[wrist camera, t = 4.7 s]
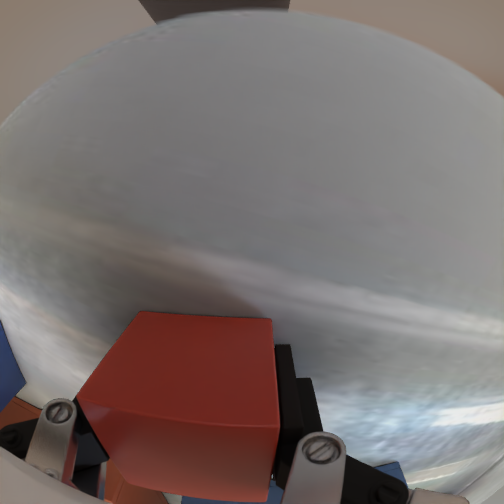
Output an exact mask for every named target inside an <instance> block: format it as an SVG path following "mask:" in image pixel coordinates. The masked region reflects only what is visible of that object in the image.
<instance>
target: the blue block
mask: <svg viewBox="0 0 504 504" xmlns="http://www.w3.org/2000/svg"><path fill="white" fill-rule="evenodd" d="M25 384H26V382H25V380H24V378H23V376H22V374H21V371H20V369H19V367H18V365H17V363H16V360H15V358H14V356H13V353H12V351H11V349H10V346H9V344H8V341H7V338H6V336H5V333H4V330H3V327H2V324H1V322H0V413H1V411H2V410H3V409H4V408H5V407H6V406H7V404H8V403H9V402H10V401H11V400H12V399H13V397H14V396H15V395H16V394H17V393H18V392H19V391H20V389H21V388H22V387H23V386H24V385H25Z"/></svg>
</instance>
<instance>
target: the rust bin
mask: <svg viewBox="0 0 504 504" xmlns="http://www.w3.org/2000/svg"><path fill="white" fill-rule="evenodd" d="M41 412H42V410H40V409H38V408H36V407H34V406H32V405H30V404H28V403H26V402H24V401H22V400H20V399H18V398H16V397H15V396H14V397H13V399H12V400H11V401H10V402H9V403H8V404H7V406H6V407H5V408H4V409H3V410H2V411H1V413H0V430H1V429H2V428H3V427H4V426H6V425H9V424H14V423H18V422H23V421H27V420H31V419H35V418H39V417H40V414H41ZM104 501H106V502H108V503H111V504H168V502H167V501H166V499H165V498H164V496H163V494H162V493H161V491H157V490H152V489H148V488H144V487H140V486H137V485H133V484H130V483H128V482H127V481H126V480H125V478H124V477H123V476H122V474H121V473H120V471H119V470H118V469H117V467H116V466H115V464H114V463H113V461H112V460H111V458H110V459H109V461H107V466H106V479H105V495H104Z"/></svg>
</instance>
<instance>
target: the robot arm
mask: <svg viewBox="0 0 504 504" xmlns="http://www.w3.org/2000/svg"><path fill="white" fill-rule="evenodd" d="M274 354H275V366H276V378H277V390H278V403H279V416H280V431H279V437H278V443H277V449H276V455H275V460H274V466H273V471H272V474H273V481H276V486H278V487H279V488H281V489H282V490H284V492H283V495H282V498H281V501H280V504H470V503H469V501H468V500H467V499H466V498H465V497H462V496H458V495H451V494H445V493H439V492H434V491H429V490H425V489H420V488H415V489H414V490H413V489H409V488H407V486H406V484H405V483H404V482H403V481H401V480H400V479H398V478H396V477H393V476H391V475H389V474H386V473H384V472H382V471H379V470H377V469H375V468H373V467H371V466H369V465H367V464H364V463H362V462H360V461H358V460H356V459H354V458H352V457H350V456H348V455H346V446H345V444H344V442H343V440H341V439H340V438H339V437H338V436H336V435H334V434H332V433H328V432H323V428H322V423H321V419H320V414H319V410H318V405H317V401H316V397H315V392H314V388H313V384H312V380H311V378H296V375H295V369H294V363H293V357H292V351H291V346H290V344H275V348H274ZM109 459H110V457H109V455H108V454H107V452H106V451H105V449H104V447H103V446H102V444H101V442H100V441H99V439H98V437H97V436H96V434H95V432H94V430H93V429H92V427H91V425H90V423H89V421H88V420H87V418H86V416H85V414H84V412H83V410H82V408H81V406H80V404H79V402H78V400H77V398H76V396H75V398H74V400H73V401H70V400H68V399H64V398H58V399H54V400H51V401H50V402H48V403H47V404H46V405H45V406H44V408H43V409H42V412H41V414H40V417H39V418H35V419H31V420H27V421H23V422H18V423H14V424H9V425H6V426H4V427H3V428H2V429H1V430H0V504H111V503H108V502H106V501H104V495H105V479H106V466H107V461H109Z"/></svg>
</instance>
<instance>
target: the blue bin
mask: <svg viewBox="0 0 504 504" xmlns="http://www.w3.org/2000/svg"><path fill="white" fill-rule="evenodd" d="M375 469H377V470H379V471H382V472H384V473H386V474H389V475H391V476H393V477H396V478H398V479H400V480H401V481H403V482H404V483H405V484H406V486H407V483H406V480H405V478H404V475H403V473H402V470H401V468H400V465H399V463H398V462H395V463H392V464H388V465H384V466H380V467H375ZM407 488H408V486H407ZM283 492H284V490H282V489H281V488H279V487H278V486H276V481H273V480H271V481H270V487H269V491H268V496H267V501H266V502H235V501H221V500H211V499H202V498H195V497H188V496H182V501H181V504H280V501H281V498H282V495H283Z"/></svg>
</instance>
